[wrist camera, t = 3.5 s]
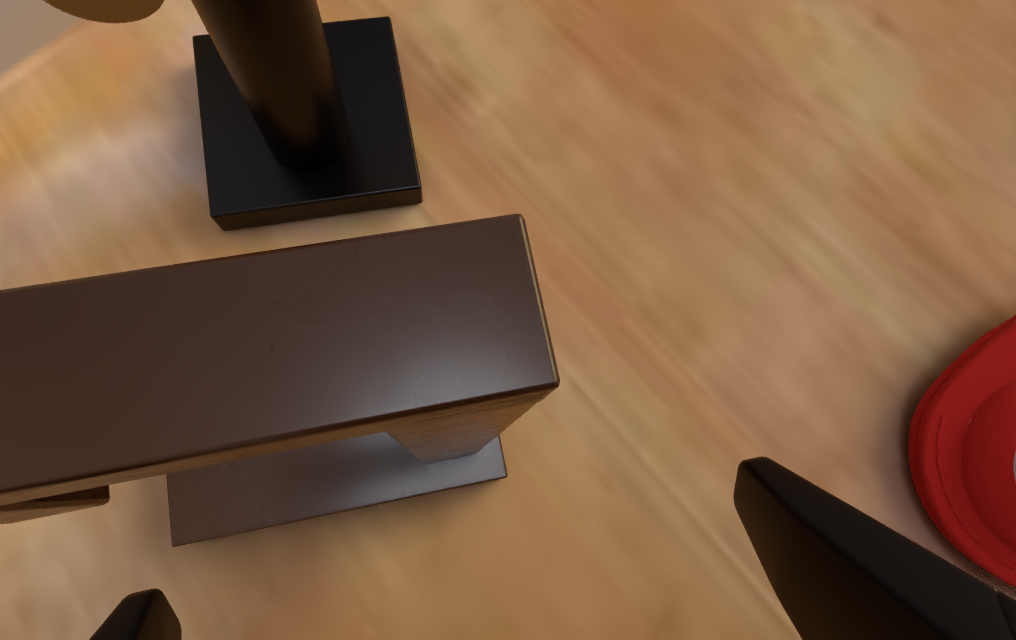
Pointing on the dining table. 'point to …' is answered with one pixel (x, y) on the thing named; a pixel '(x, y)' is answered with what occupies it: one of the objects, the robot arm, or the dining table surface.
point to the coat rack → (291, 109)
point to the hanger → (275, 377)
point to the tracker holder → (972, 452)
